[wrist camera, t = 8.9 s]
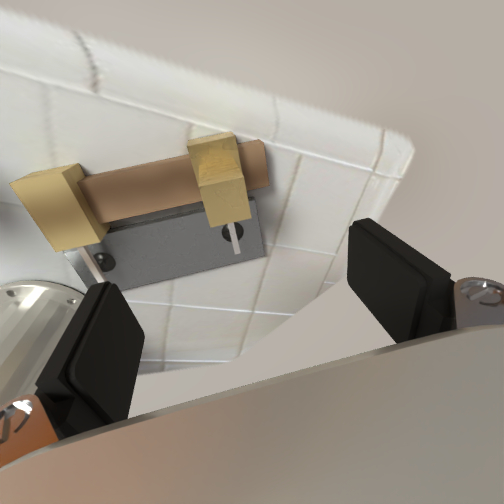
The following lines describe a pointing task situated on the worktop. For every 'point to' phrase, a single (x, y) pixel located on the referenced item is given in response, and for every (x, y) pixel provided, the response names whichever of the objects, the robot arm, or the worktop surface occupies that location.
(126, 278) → the hole plate
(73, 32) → the worktop surface
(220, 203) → the slider head
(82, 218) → the rail
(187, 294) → the worktop surface
